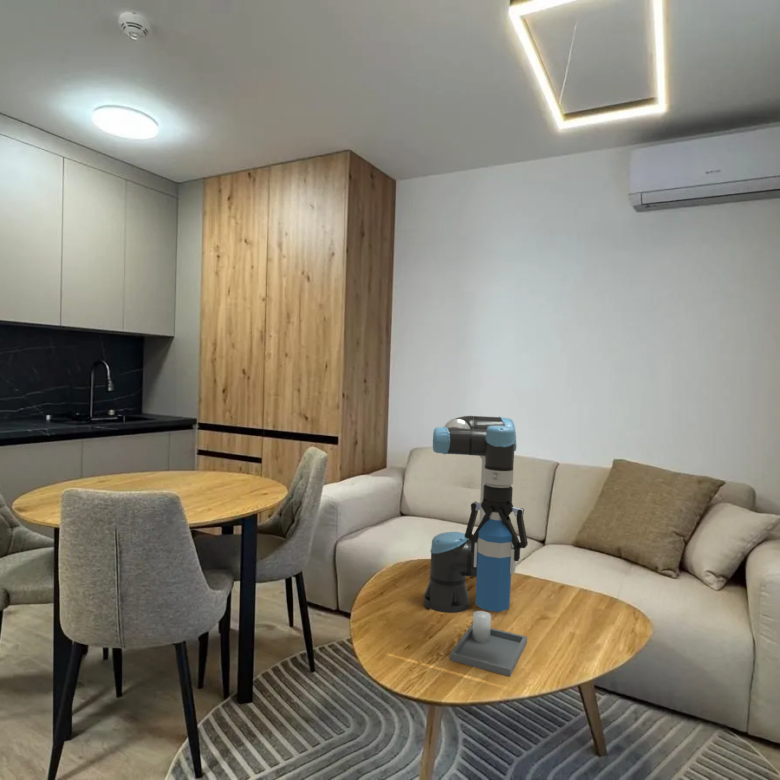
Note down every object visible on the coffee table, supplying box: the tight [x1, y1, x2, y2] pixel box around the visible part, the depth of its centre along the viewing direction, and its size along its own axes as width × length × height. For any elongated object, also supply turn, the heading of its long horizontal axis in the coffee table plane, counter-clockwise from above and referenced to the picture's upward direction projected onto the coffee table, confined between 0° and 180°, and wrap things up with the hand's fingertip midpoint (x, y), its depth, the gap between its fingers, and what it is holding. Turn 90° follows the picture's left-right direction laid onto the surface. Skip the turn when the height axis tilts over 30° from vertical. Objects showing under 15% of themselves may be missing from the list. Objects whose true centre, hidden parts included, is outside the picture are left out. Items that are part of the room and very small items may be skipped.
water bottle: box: [475, 511, 513, 613], centre depth 147 cm, size 9×9×25 cm
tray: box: [449, 623, 528, 677], centre depth 152 cm, size 16×20×2 cm
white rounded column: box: [472, 610, 492, 643], centre depth 158 cm, size 5×5×7 cm
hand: (494, 568), depth 148 cm, fingers closed on water bottle, 9 cm apart
